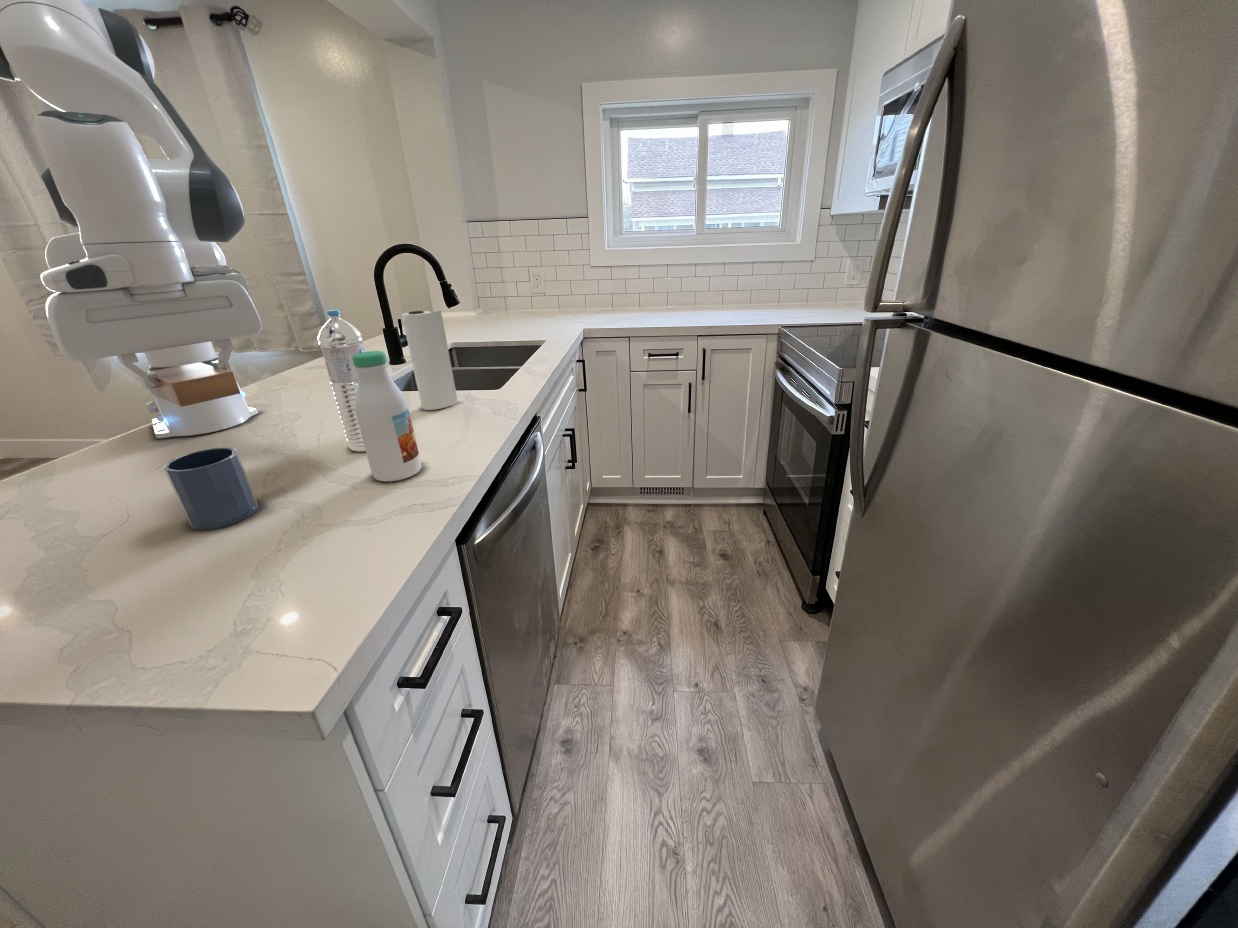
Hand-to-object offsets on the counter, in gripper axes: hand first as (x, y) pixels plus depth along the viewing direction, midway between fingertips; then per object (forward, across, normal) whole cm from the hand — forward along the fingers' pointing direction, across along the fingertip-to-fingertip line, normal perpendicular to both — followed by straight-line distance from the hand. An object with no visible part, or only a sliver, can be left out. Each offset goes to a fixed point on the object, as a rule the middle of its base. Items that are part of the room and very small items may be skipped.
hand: (189, 380), depth 66 cm
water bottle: (+19, -24, -6) cm, 31 cm away
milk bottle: (+20, -20, +10) cm, 29 cm away
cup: (+19, +2, +1) cm, 19 cm away
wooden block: (+2, 0, 0) cm, 2 cm away
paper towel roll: (+19, -46, -15) cm, 52 cm away
